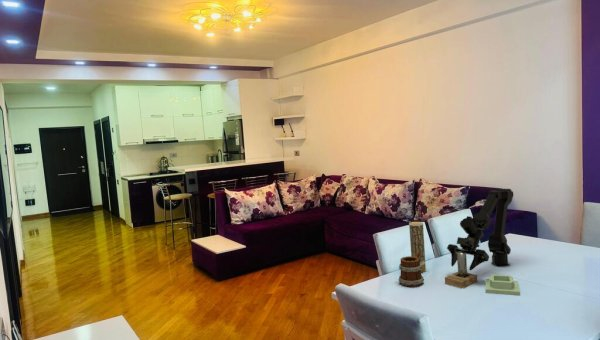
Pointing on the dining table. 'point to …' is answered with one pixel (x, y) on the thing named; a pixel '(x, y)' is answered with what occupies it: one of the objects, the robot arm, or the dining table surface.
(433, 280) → the dining table surface
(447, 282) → the wooden rectangular frame
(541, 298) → the dining table surface
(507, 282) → the socket stand
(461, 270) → the grey glass peg
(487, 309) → the dining table surface
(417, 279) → the mug
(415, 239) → the bark textured cylinder
